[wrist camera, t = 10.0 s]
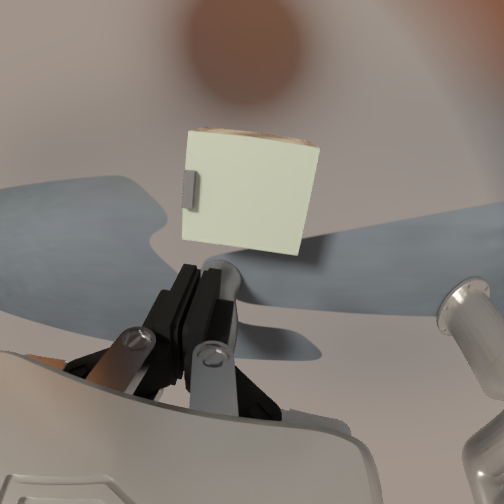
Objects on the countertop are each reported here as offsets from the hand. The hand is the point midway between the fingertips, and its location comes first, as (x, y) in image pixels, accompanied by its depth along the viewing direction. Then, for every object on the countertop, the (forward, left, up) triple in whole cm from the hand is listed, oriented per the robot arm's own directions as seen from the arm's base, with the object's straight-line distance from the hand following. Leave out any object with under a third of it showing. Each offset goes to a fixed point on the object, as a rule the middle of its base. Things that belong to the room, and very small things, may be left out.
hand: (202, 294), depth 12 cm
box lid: (-1, 0, -17) cm, 17 cm away
